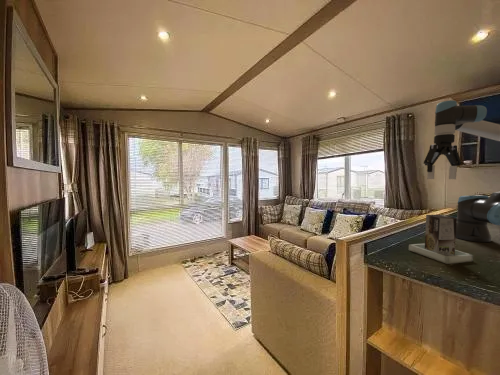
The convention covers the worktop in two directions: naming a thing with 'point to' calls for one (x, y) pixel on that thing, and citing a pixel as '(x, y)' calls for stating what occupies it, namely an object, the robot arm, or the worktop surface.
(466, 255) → the tray
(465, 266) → the worktop surface
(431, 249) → the coffee box
